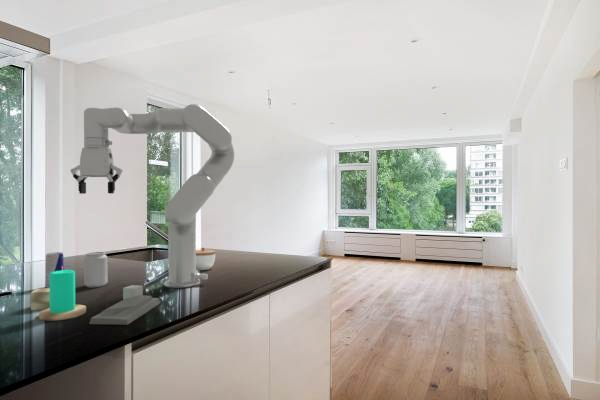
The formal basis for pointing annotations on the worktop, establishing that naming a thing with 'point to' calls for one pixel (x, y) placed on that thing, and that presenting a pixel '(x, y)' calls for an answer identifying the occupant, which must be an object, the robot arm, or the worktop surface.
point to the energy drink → (53, 264)
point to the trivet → (62, 314)
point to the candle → (62, 291)
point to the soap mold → (125, 310)
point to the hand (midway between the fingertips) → (96, 193)
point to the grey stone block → (132, 291)
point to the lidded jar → (204, 259)
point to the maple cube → (40, 299)
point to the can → (95, 269)
